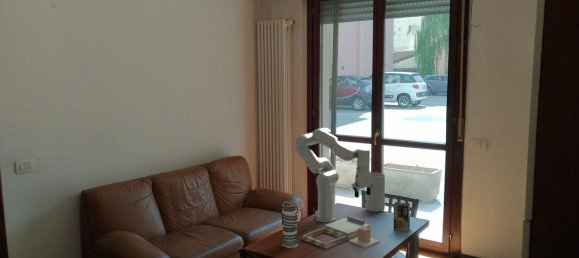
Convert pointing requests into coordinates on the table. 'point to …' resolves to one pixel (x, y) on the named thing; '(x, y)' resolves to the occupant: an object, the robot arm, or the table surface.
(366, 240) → the terracotta block
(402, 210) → the coffee box
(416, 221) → the table surface
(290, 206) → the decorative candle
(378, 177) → the cylinder vase
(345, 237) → the well frame
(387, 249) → the table surface
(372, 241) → the grey mat
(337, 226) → the sliding lid
